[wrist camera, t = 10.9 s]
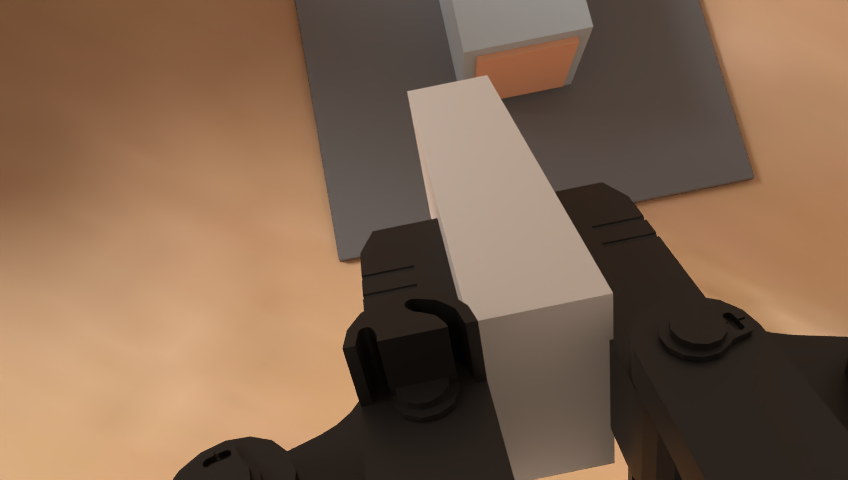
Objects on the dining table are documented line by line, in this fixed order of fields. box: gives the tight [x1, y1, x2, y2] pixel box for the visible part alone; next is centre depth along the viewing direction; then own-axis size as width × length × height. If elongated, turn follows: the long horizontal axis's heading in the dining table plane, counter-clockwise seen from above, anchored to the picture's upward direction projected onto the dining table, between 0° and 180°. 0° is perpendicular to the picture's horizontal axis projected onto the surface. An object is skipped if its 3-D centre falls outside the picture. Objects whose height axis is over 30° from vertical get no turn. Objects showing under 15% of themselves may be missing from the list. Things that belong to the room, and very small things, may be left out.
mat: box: [295, 0, 754, 262], centre depth 37 cm, size 22×18×1 cm
